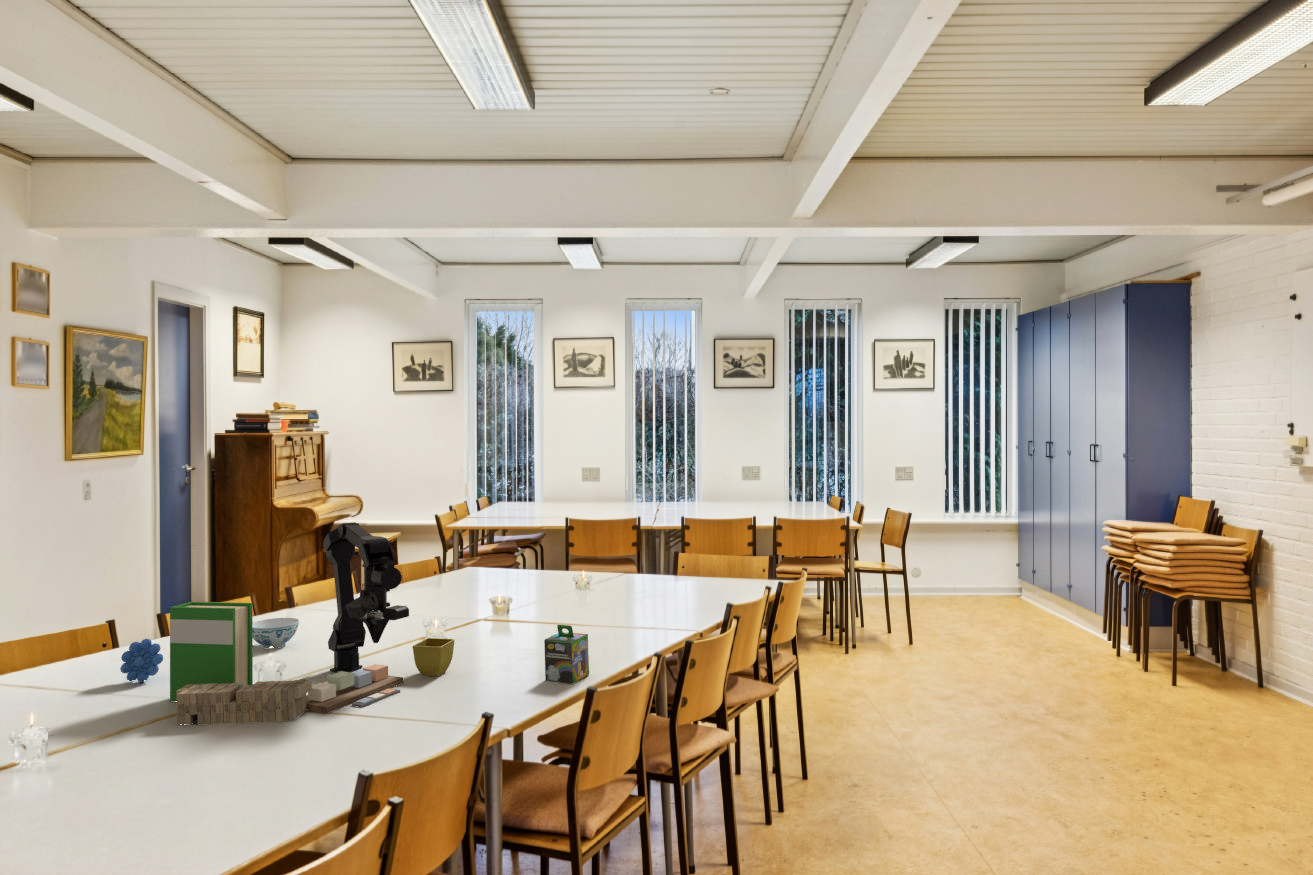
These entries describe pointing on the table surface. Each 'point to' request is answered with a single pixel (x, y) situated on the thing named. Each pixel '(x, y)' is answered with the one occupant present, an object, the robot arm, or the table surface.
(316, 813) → the table surface
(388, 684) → the brown wooden board
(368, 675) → the key slate
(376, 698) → the strip
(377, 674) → the key terracotta
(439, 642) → the flower pot
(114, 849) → the table surface
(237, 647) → the hardback book
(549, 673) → the chalk box
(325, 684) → the key cream
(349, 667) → the robot arm
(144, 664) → the blue flower ornament
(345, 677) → the key sage
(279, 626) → the chinaware
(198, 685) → the block tower
